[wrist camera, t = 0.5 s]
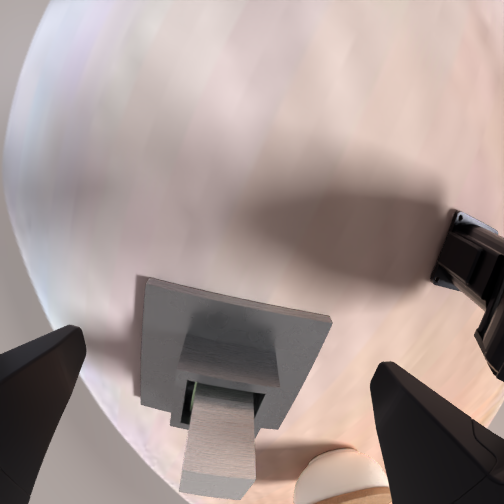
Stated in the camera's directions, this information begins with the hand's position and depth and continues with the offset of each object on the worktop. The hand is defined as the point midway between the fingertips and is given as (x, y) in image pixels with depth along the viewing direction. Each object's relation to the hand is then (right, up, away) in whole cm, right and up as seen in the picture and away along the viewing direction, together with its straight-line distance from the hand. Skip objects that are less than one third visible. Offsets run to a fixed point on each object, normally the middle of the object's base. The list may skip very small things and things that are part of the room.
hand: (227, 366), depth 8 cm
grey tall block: (-2, -7, +15) cm, 17 cm away
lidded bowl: (+12, -25, +23) cm, 36 cm away
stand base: (-2, -7, +16) cm, 17 cm away
